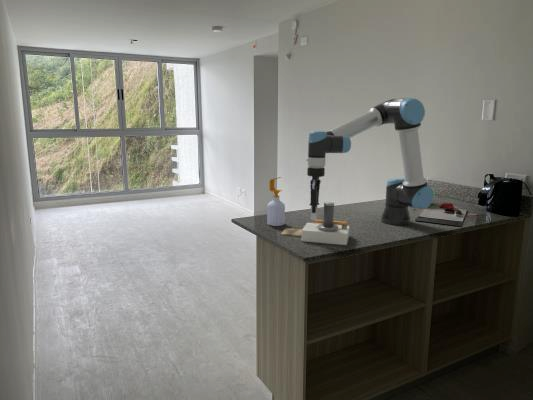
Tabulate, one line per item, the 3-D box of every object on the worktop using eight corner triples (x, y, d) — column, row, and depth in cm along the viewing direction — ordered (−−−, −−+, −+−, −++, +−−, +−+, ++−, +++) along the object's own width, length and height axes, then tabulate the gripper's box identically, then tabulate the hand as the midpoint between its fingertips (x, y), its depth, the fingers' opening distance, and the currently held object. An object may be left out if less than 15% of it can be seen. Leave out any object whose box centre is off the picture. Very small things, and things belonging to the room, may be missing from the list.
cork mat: (305, 230, 200) (305, 229, 200) (302, 236, 190) (302, 235, 190) (285, 229, 202) (285, 228, 202) (281, 234, 193) (281, 233, 193)
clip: (347, 224, 187) (347, 221, 187) (347, 225, 184) (347, 223, 184) (314, 221, 191) (314, 219, 191) (313, 223, 188) (313, 220, 188)
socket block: (348, 236, 192) (349, 223, 190) (346, 245, 178) (347, 231, 177) (306, 232, 197) (307, 219, 195) (301, 241, 183) (301, 227, 182)
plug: (338, 237, 189) (340, 201, 185) (336, 243, 180) (338, 205, 177) (319, 236, 191) (320, 200, 188) (316, 241, 183) (317, 204, 179)
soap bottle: (279, 227, 206) (279, 178, 201) (263, 224, 210) (264, 177, 205) (287, 223, 213) (288, 176, 208) (272, 221, 218) (273, 175, 213)
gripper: (310, 164, 186) (307, 215, 191) (305, 168, 173) (302, 222, 178) (326, 165, 184) (324, 216, 189) (322, 169, 172) (320, 223, 176)
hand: (313, 219), depth 183 cm, fingers closed
